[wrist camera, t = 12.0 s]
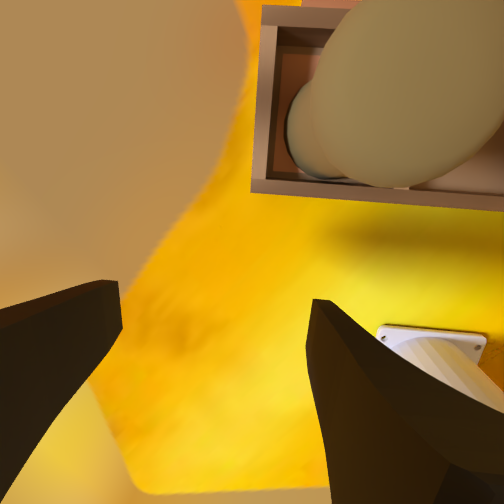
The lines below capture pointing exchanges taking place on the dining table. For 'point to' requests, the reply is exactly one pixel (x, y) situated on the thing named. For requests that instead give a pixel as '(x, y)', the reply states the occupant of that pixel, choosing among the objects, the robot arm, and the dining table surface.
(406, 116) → the pepper mill
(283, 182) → the spice rack
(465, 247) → the dining table surface
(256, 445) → the dining table surface
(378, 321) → the dining table surface
